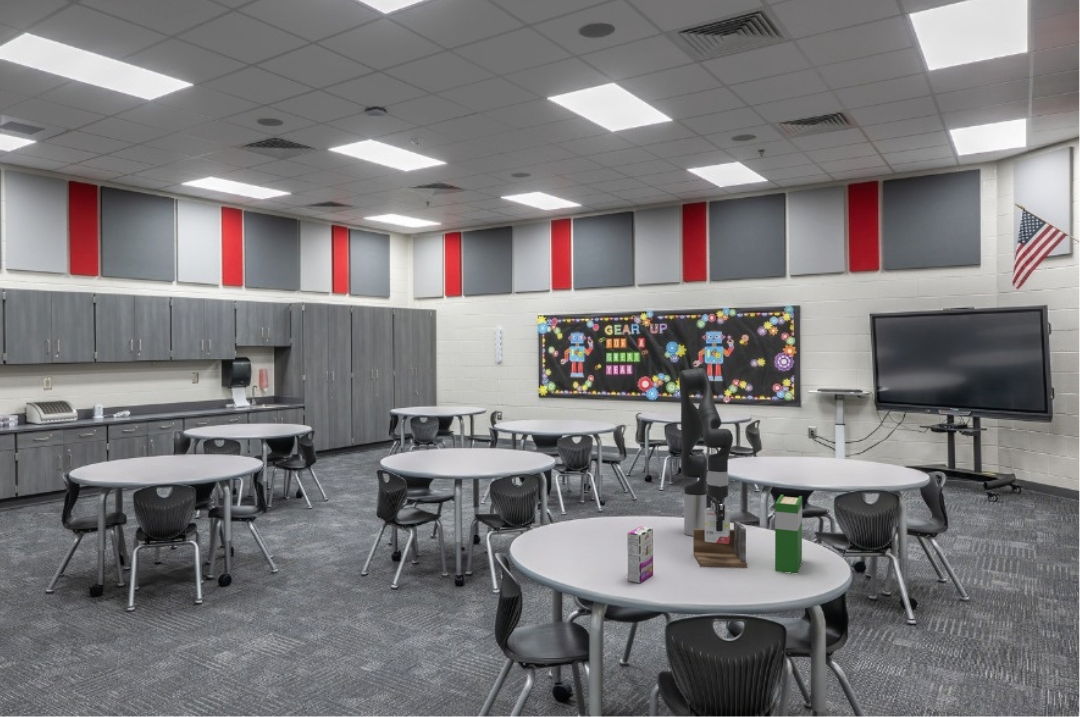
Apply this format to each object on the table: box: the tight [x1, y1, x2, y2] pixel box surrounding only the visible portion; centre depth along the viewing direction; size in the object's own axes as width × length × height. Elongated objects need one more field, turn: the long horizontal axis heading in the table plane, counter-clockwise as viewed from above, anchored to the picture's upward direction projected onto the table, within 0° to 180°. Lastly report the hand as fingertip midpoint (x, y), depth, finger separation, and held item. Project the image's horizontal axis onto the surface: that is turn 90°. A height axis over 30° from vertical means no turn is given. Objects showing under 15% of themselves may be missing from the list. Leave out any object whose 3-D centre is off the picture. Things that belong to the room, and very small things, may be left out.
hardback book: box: [774, 494, 803, 574], centre depth 249 cm, size 18×7×24 cm, turn 155°
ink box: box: [705, 507, 731, 544], centre depth 252 cm, size 9×5×12 cm, turn 65°
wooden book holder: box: [692, 520, 748, 569], centre depth 254 cm, size 15×16×14 cm
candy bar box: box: [626, 525, 654, 584], centre depth 233 cm, size 11×5×16 cm, turn 148°
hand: (717, 528), depth 252 cm, fingers closed on ink box, 6 cm apart
